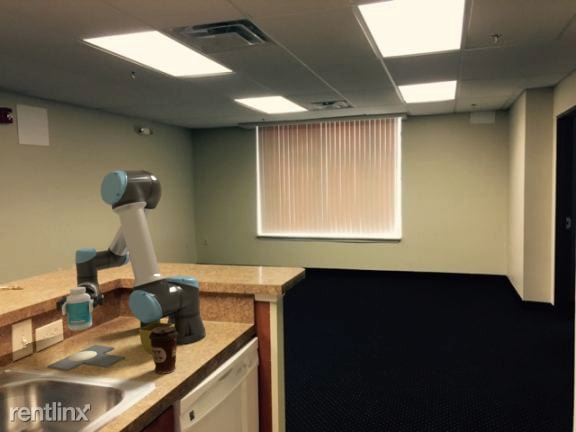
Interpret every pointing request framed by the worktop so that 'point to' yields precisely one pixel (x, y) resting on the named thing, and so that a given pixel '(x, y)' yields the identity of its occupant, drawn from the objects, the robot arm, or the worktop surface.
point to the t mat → (88, 358)
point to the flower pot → (147, 331)
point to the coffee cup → (164, 348)
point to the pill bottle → (78, 309)
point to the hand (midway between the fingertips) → (77, 309)
